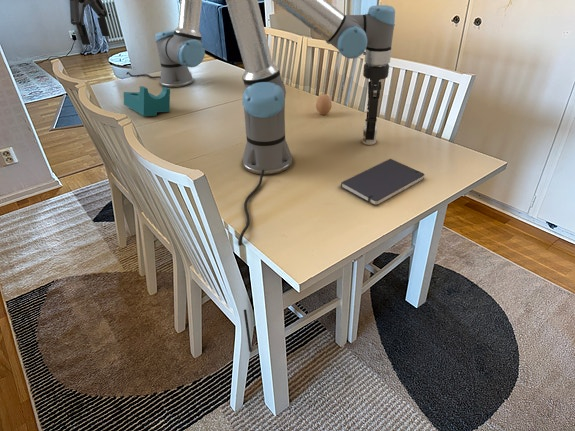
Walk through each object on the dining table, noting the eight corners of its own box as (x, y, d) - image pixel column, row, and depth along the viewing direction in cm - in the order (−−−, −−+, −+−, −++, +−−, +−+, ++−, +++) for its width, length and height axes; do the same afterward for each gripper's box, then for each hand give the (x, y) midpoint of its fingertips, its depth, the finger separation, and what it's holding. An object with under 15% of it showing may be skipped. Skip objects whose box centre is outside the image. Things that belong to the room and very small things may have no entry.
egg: (320, 118, 154) (320, 97, 149) (313, 113, 158) (313, 93, 154) (334, 115, 156) (335, 95, 151) (326, 110, 160) (327, 90, 156)
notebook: (389, 163, 124) (340, 187, 113) (390, 158, 123) (341, 182, 112) (424, 178, 116) (375, 206, 105) (425, 174, 115) (376, 201, 104)
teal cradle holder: (169, 115, 164) (170, 89, 159) (143, 115, 156) (144, 88, 152) (148, 104, 174) (148, 79, 170) (123, 104, 167) (123, 78, 163)
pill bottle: (361, 139, 138) (363, 117, 134) (374, 139, 138) (377, 117, 133) (362, 145, 135) (364, 123, 130) (376, 145, 135) (378, 123, 130)
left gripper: (87, -30, 149) (104, 32, 161) (45, -22, 129) (67, 48, 141) (106, -30, 148) (121, 32, 160) (66, -22, 128) (87, 48, 140)
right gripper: (364, 54, 130) (358, 122, 143) (364, 72, 114) (357, 147, 127) (387, 55, 129) (379, 123, 142) (391, 73, 113) (382, 148, 126)
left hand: (96, 40), depth 151 cm, fingers open, 13 cm apart
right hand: (369, 134), depth 135 cm, fingers open, 7 cm apart
